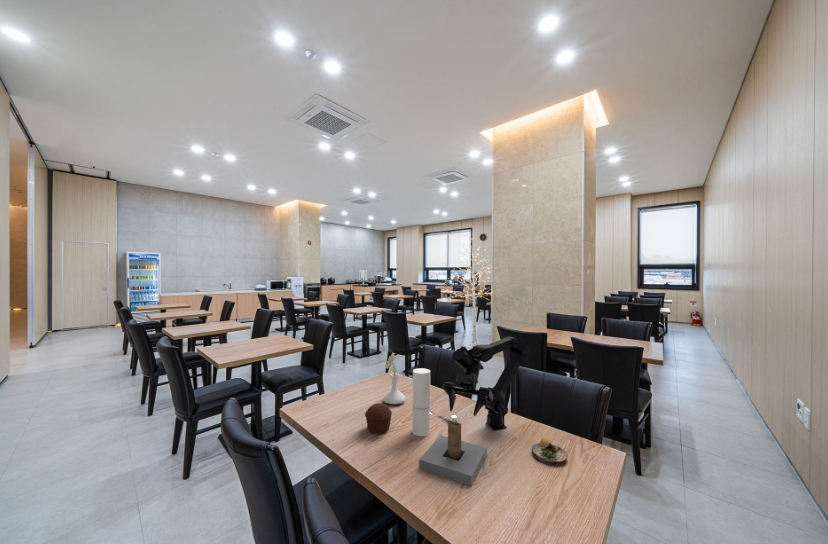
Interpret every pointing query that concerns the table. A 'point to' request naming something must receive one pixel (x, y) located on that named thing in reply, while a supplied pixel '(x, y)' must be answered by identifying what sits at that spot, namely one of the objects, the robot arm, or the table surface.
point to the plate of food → (548, 452)
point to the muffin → (378, 418)
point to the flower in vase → (393, 386)
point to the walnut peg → (454, 440)
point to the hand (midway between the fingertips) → (462, 413)
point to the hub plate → (453, 461)
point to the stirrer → (452, 417)
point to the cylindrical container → (421, 402)
